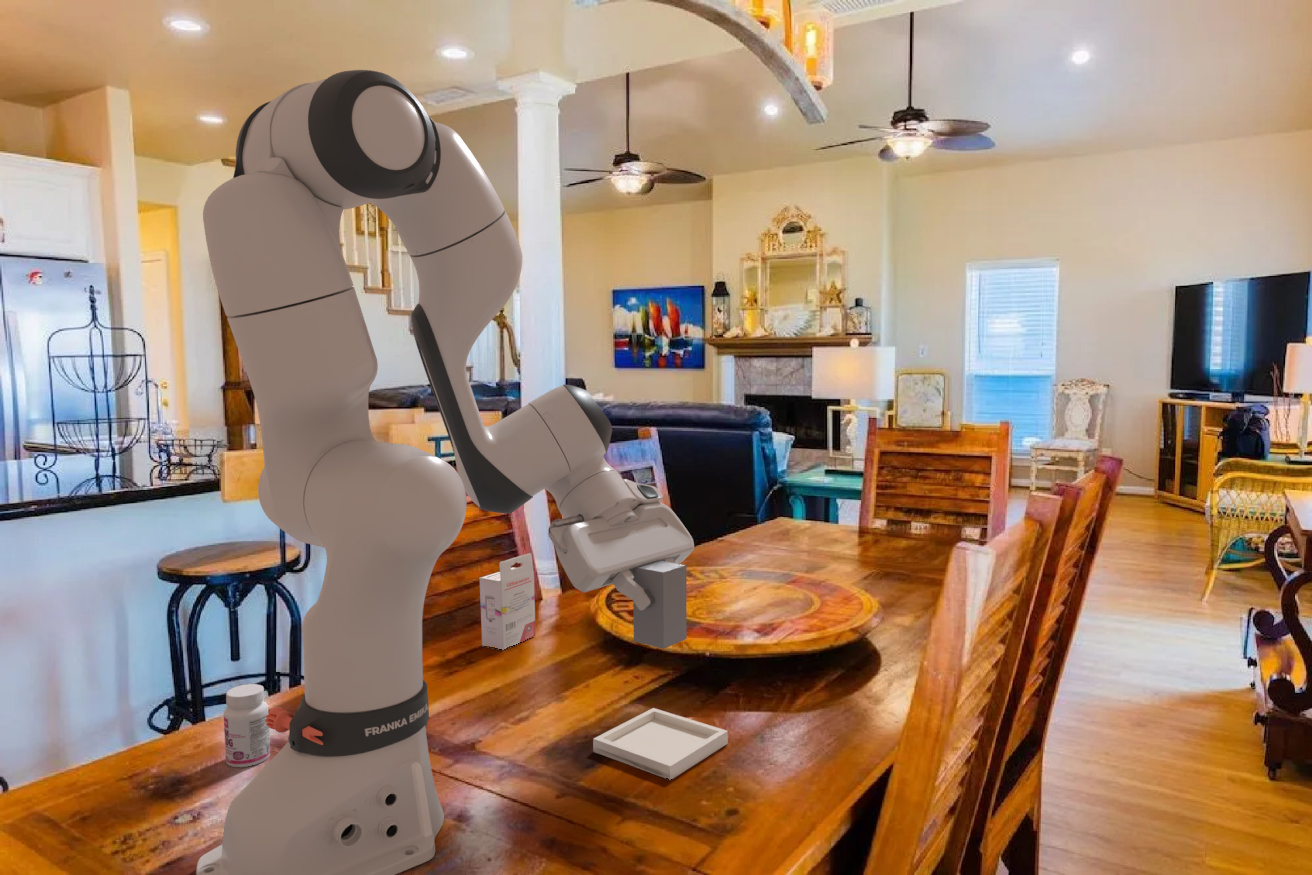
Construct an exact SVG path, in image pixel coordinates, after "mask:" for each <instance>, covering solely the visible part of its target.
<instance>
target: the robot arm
mask: <svg viewBox="0 0 1312 875" xmlns="http://www.w3.org/2000/svg"><path fill="white" fill-rule="evenodd" d="M240 128H241V129H240V130H239V134H238V136H237V140H236V147H235V167H234V172H233V177H232V178H230V179H229V180H226V181H225V182H224V183H221V185H219V186H218V187H216V188H215V189H214V190H213V191H212V192H211V194H209V196H208V197H207V199H206V201H205V203H204V206H203V211H202V220H203V227H204V228H203V229H204V235H205V241H206V242H205V243H206V246H207V247H206V248H207V252H208V255H209V256H208V257H209V262H210V265H211V270H212V275H213V278H214V281H215V284H216V289H217V293H218V295H219V299H220V302H221V306H222V307H223V312H224V314H225V316H226V317H227V318H226V319H227V322H228V324H229V328H230V330H231V333H232V335H233V339H234V341H235V344H236V348H237V349H238V353H239V355H240V356H239V357H240V358H241V361H242V364H243V366H244V369H245V372H246V375H247V378H248V380H249V383H250V387H251V389H252V393H253V396H254V400H255V404H256V409H257V414H258V418H259V427H260V434H261V442H262V451H263V463H264V464H263V468H262V470H261V473H260V475H259V479H258V480H259V481H258V485H257V486H258V487H257V489H258V492H257V494H258V500H259V504H260V506H261V509H262V511H263V512H264V515H265V516H266V517H267V518H268V519H269V520H270V521H271V522H272V523H273V524H274V525H275V526H277V527H278V528H279V529H280V530H281V531H283V532H285V533H286V534H287V535H289V536H290V537H292V538H293V539H294V540H297V541H299V542H302V543H304V544H308V545H313V546H317V547H321V548H324V550H325V553H326V554H325V555H326V564H325V572H324V576H323V581H322V584H321V589H320V593H319V595H318V598H317V600H316V603H314V604H313V605H312V606H311V607H310V608H309V610H307V612H306V613H305V615H304V617H303V620H302V624H301V625H302V626H301V631H302V632H301V635H302V656H303V657H302V658H303V679H304V680H303V681H304V682H303V683H304V695H303V696H302V698H301V700H300V703H299V705H298V707H297V709H296V712H295V714H293V712H292V711H289V710H286V709H285V708H283V707H281V706H276V707H275V706H274V707H273V708H271V709H270V710H268V713H269V714H268V715H266V717H265V718H268V719H266V720H265V722H266V723H267V724H266V725H267V726H269V729H272V730H275V732H276V733H279V734H280V733H282V734H283V733H286V732H289V735H288V736H287V737H288V738H287V740H288V741H287V742H286V743H285V745H284V746H283V747H282V748H281V749H279V751H278V752H277V753H276V754H275V755H274V757H273V758H271V759H270V761H268V763H267V764H266V765H265V766H264V767H263V768H262V769H261V770H260V771H259V773H258V774H257V775H255V776H254V777H253V779H251V781H250V782H248V784H246V786H245V787H243V789H242V790H241V791H240V792H239V793H237V795H236V796H235V797H234V798H233V799H232V801H231V803H229V804H230V805H229V806H228V810H227V813H226V815H225V821H224V826H223V833H222V834H223V836H222V843H221V844H220V845H218V846H217V847H214V848H213V849H211V850H209V851H208V852H206V853H204V854H203V855H201V857H199V859H198V860H197V864H196V867H195V868H196V871H195V875H397V874H400V873H402V872H404V871H407V870H409V869H411V868H414V867H417V866H420V865H421V864H424V863H426V862H428V861H430V860H431V859H433V858H434V856H435V854H436V843H435V839H436V838H437V835H438V833H439V832H440V830H441V828H442V827H443V825H444V820H445V813H444V809H443V807H442V804H441V801H440V799H439V796H438V792H437V788H436V784H435V781H434V776H433V771H432V766H431V765H432V764H431V760H430V753H429V746H428V745H429V744H428V739H427V738H428V737H427V725H428V721H429V718H430V710H429V709H430V707H429V692H428V683H427V682H426V680H425V679H424V673H423V670H424V669H423V616H424V605H425V599H426V596H427V595H426V594H427V590H428V586H429V583H430V579H431V575H432V573H433V570H434V567H435V566H436V563H437V561H438V559H439V557H441V555H442V554H443V553H444V552H445V551H446V550H447V549H448V548H450V546H451V545H452V544H453V543H454V541H455V540H456V539H457V537H458V536H459V534H460V532H461V530H462V527H463V525H464V522H465V519H466V513H467V506H468V505H467V504H468V503H467V502H468V501H467V496H468V498H469V499H470V500H471V501H472V502H473V504H475V505H476V506H477V507H478V508H479V509H480V510H482V511H485V512H486V511H487V512H491V513H498V514H513V513H514V512H515V511H516V510H518V509H519V508H521V507H522V506H524V505H525V504H526V503H527V502H529V501H530V500H531V499H533V498H534V497H533V496H535V495H538V493H540V492H542V491H543V490H546V491H547V492H549V493H550V494H551V495H552V497H553V498H554V500H555V503H556V507H557V509H558V511H559V513H560V514H561V516H562V517H563V518H557V519H554V520H553V521H551V524H550V525H549V527H548V531H547V535H548V537H549V539H550V541H551V543H552V544H553V545H554V547H555V552H556V555H557V557H558V560H559V562H560V564H561V566H562V568H563V570H564V572H565V574H566V575H567V577H568V579H569V581H570V583H571V584H572V586H573V587H574V588H575V589H577V590H578V591H580V592H582V593H587V592H591V591H593V590H597V589H600V588H603V587H606V586H610V585H613V586H614V587H615V589H616V590H617V591H618V592H619V593H621V594H622V595H624V596H625V597H627V598H628V599H630V600H631V601H634V603H635V604H636V606H637V607H638V609H639V610H645V609H647V608H650V607H651V606H652V605H653V604H654V603H655V597H654V596H653V595H652V593H651V592H650V590H649V589H645V590H644V589H643V588H642V587H641V586H639V585H638V584H637V583H636V582H635V581H633V578H634V576H633V568H636V567H639V566H642V565H646V564H649V563H653V562H656V561H665V562H671V563H677V564H681V563H683V562H684V561H685V560H686V558H688V557H689V556H690V554H691V553H693V552H694V550H695V543H694V539H693V536H692V535H691V534H690V532H689V531H688V529H687V528H686V527H685V525H684V524H683V522H682V521H681V519H680V518H679V517H678V516H677V514H676V513H675V512H674V511H673V509H672V508H670V506H668V505H667V504H665V503H662V502H661V501H662V500H663V498H664V496H663V493H662V492H661V491H660V490H659V488H658V487H656V486H653V485H648V484H643V483H639V482H635V481H633V480H631V479H630V480H629V479H627V478H622V476H621V474H620V473H619V472H618V471H617V469H615V468H614V467H612V466H611V465H610V464H609V463H608V462H607V461H606V459H605V457H604V456H605V454H607V452H608V450H609V447H610V443H611V437H612V433H613V427H612V423H611V422H610V421H611V420H609V418H608V417H607V415H606V414H605V413H604V411H603V410H602V408H601V407H600V406H599V404H598V403H597V402H596V400H595V399H594V397H593V396H592V394H591V393H590V392H589V391H588V390H586V389H584V388H581V387H578V386H575V385H571V384H563V385H560V386H557V387H555V388H553V389H550V390H548V391H547V392H545V393H544V394H542V395H540V396H538V397H537V398H535V399H533V400H532V401H529V402H528V403H527V404H526V405H525V406H523V407H521V408H519V409H517V410H516V411H514V412H512V413H511V414H509V415H507V416H506V417H503V418H502V419H500V420H498V421H496V422H495V423H493V424H490V425H485V424H484V423H483V418H482V415H481V413H480V411H479V410H480V409H479V407H478V405H477V401H476V398H475V395H474V391H473V389H472V386H471V384H470V379H469V377H468V372H467V361H468V358H469V354H470V352H471V349H472V347H473V346H474V344H475V342H476V341H477V340H478V338H479V336H480V335H481V334H482V333H483V332H484V330H485V329H486V328H487V326H488V325H489V324H490V323H491V322H492V320H493V319H494V318H495V317H496V316H497V315H498V314H499V313H500V311H501V310H502V309H503V308H504V307H505V306H506V304H507V302H508V301H509V300H510V298H511V297H512V295H513V293H514V292H515V289H516V287H517V285H518V283H519V280H520V277H521V272H522V266H523V254H522V253H523V252H522V249H521V248H522V247H521V245H520V241H519V239H518V236H517V233H516V231H515V228H514V226H513V224H512V222H511V219H510V217H509V215H508V213H507V211H506V209H505V206H504V204H503V203H502V201H501V199H500V197H499V195H498V193H497V191H496V190H495V188H494V186H493V184H492V183H491V180H490V179H489V177H488V176H487V174H486V172H485V170H484V169H483V167H482V165H481V164H480V162H479V161H478V160H477V158H476V157H475V154H473V152H472V151H471V149H470V148H469V146H468V145H467V144H466V143H465V141H464V140H463V138H462V137H461V136H460V134H459V133H458V132H457V131H455V130H454V129H453V128H452V127H450V126H448V125H446V124H444V123H440V122H435V121H434V120H433V119H432V118H431V117H430V116H429V115H428V113H427V111H426V109H425V108H424V106H423V105H422V103H421V102H420V101H419V99H418V98H417V97H416V96H415V95H414V93H412V92H411V91H410V90H409V88H407V87H406V86H405V85H404V84H402V83H401V82H400V81H399V80H397V79H396V78H395V77H393V76H391V75H389V74H386V73H383V72H380V71H375V70H371V69H370V70H368V69H352V70H346V71H340V72H337V73H334V74H332V75H331V76H329V77H326V78H325V79H320V80H317V81H313V82H306V83H302V84H299V85H296V86H294V87H292V88H290V89H288V90H286V91H284V92H283V93H281V94H279V95H278V96H277V97H275V98H274V99H272V100H271V101H267V102H265V103H263V104H261V105H259V106H258V107H257V108H256V109H255V110H253V111H252V112H251V113H250V114H249V115H248V117H247V118H246V120H245V121H244V123H243V124H242V125H241V127H240ZM369 203H370V204H372V205H373V206H375V207H376V208H378V209H379V210H380V211H381V212H382V213H384V215H385V216H387V218H388V219H389V220H390V222H392V224H393V225H394V227H395V229H396V231H397V233H398V236H399V238H400V240H401V241H402V244H403V246H404V248H405V250H406V252H407V253H408V256H409V257H410V259H411V261H412V263H413V266H414V267H415V271H416V274H417V279H418V290H419V292H418V294H419V295H418V303H417V304H416V305H415V308H414V309H413V310H412V312H411V314H410V317H411V320H410V321H411V328H412V333H413V338H414V340H415V344H416V347H417V350H418V354H419V357H420V359H421V362H422V365H423V368H424V372H425V375H426V377H427V380H428V382H429V385H430V389H431V392H432V394H433V396H434V399H435V402H436V405H437V408H438V411H439V414H440V415H441V416H440V417H441V419H442V422H443V424H444V427H445V431H446V433H447V435H448V438H449V439H448V440H449V441H450V444H451V447H452V452H453V454H454V460H455V464H456V469H455V468H454V467H453V466H452V465H451V464H449V463H448V462H447V461H446V460H444V459H441V458H440V457H437V456H436V455H434V454H432V453H430V452H428V451H425V450H423V449H421V448H419V447H416V446H413V445H409V444H405V443H404V444H403V443H397V442H395V443H393V442H382V441H377V440H376V438H375V437H374V435H373V433H372V430H371V429H372V428H371V423H370V415H369V413H370V412H369V394H370V388H371V385H373V382H374V381H375V379H376V377H377V374H378V366H379V365H378V359H377V356H376V351H375V349H374V347H373V343H372V340H371V337H370V333H369V330H368V327H367V323H366V321H365V317H364V313H363V311H362V308H361V305H360V300H359V298H358V296H357V292H356V288H355V287H354V283H353V280H352V277H351V274H350V271H349V268H348V265H347V263H346V260H345V257H344V254H343V253H342V246H341V238H340V229H341V228H340V227H341V226H340V225H341V219H342V214H343V211H344V210H349V209H355V208H357V207H361V206H364V205H367V204H369Z"/></svg>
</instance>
